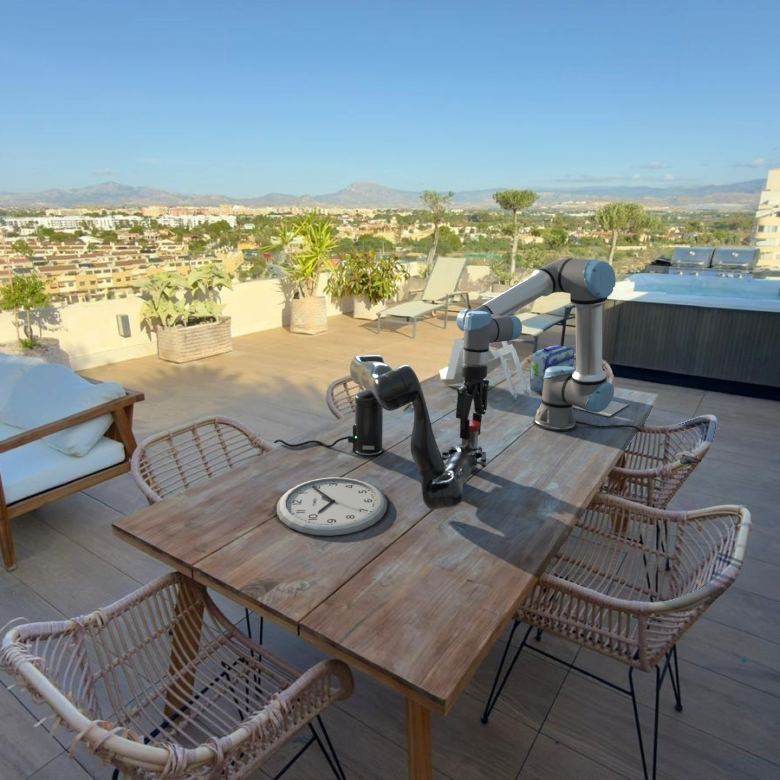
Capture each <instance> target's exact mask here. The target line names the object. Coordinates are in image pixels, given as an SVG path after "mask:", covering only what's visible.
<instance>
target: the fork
mask: <svg viewBox="0 0 780 780" xmlns="http://www.w3.org/2000/svg"><path fill="white" fill-rule="evenodd" d="M411 405H413V404H412V402H411V403H409V404H407V405H405V407H404V409H403V411H406V410H407V409H409V408H410V407H411Z"/></svg>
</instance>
